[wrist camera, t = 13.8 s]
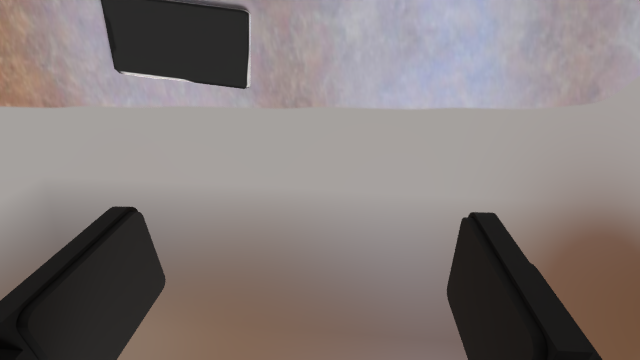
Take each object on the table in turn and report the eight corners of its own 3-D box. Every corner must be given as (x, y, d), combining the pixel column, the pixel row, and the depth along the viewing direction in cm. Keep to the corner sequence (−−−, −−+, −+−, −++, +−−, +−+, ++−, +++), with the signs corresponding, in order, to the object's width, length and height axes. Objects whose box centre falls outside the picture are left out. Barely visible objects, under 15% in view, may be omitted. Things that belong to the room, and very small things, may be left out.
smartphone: (249, 90, 35) (115, 74, 35) (251, 88, 36) (121, 71, 37) (249, 8, 31) (98, -10, 32) (252, 8, 33) (106, -10, 33)
